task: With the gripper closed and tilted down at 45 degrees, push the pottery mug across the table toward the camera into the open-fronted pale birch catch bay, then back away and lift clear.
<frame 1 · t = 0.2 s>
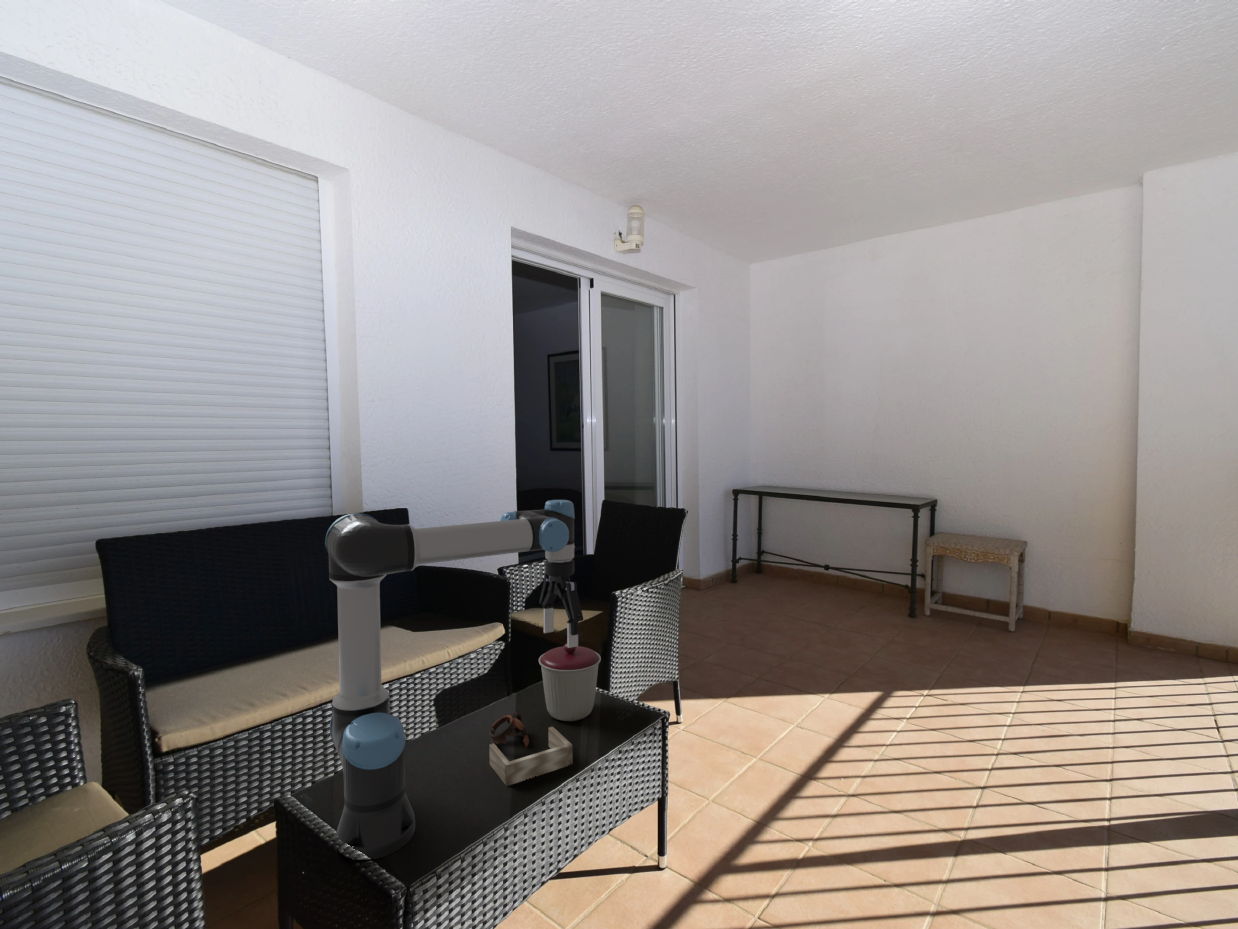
hand: (560, 639, 163), 28 cm above the table, tool pointing down, fingers open, 13 cm apart
canister: (570, 714, 181), on the table
catch bay: (529, 762, 155), on the table
pottery mug: (511, 743, 165), on the table
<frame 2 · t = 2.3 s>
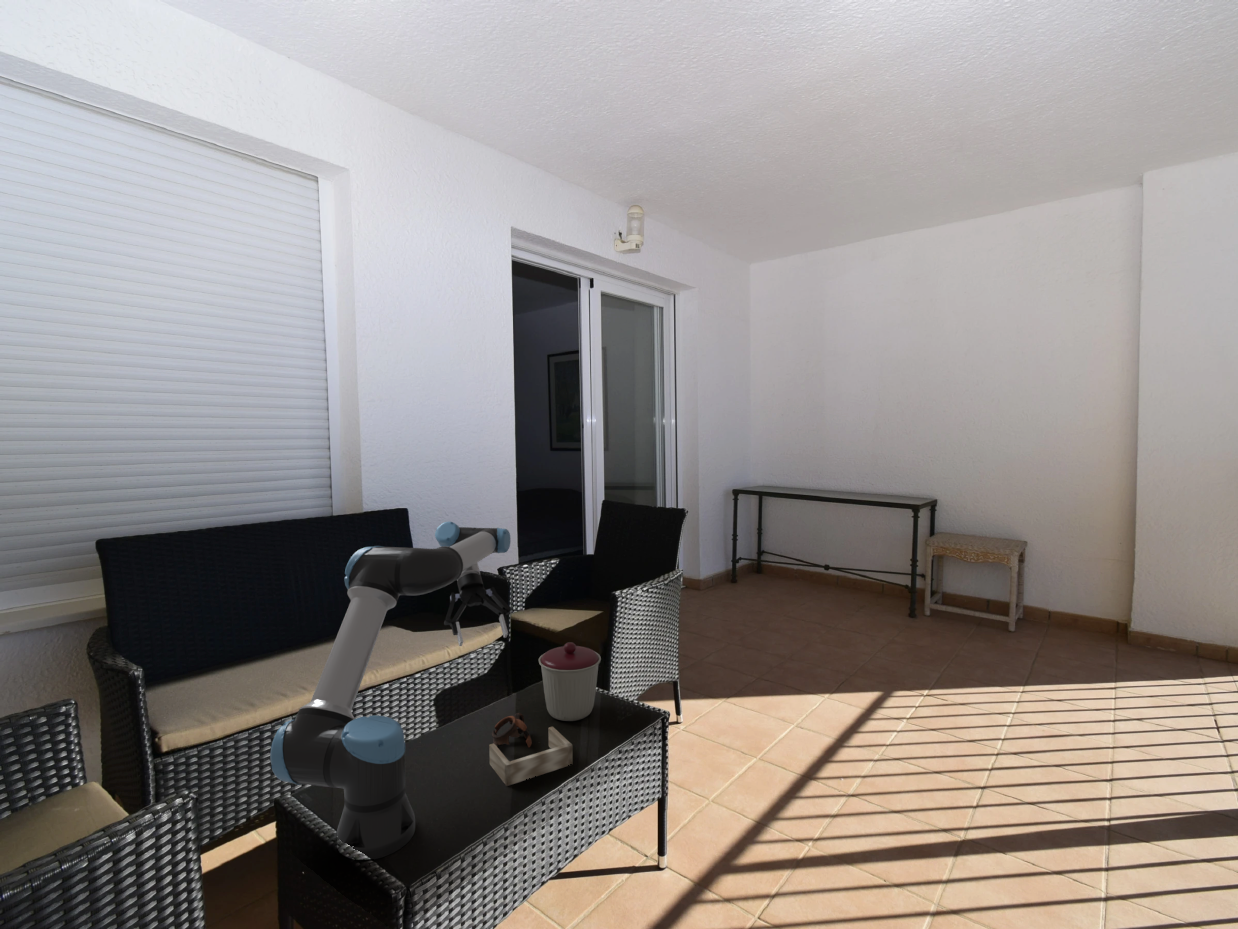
hand: (484, 640, 184), 21 cm above the table, tool tilted 45°, fingers open, 13 cm apart
nothing on the table moved.
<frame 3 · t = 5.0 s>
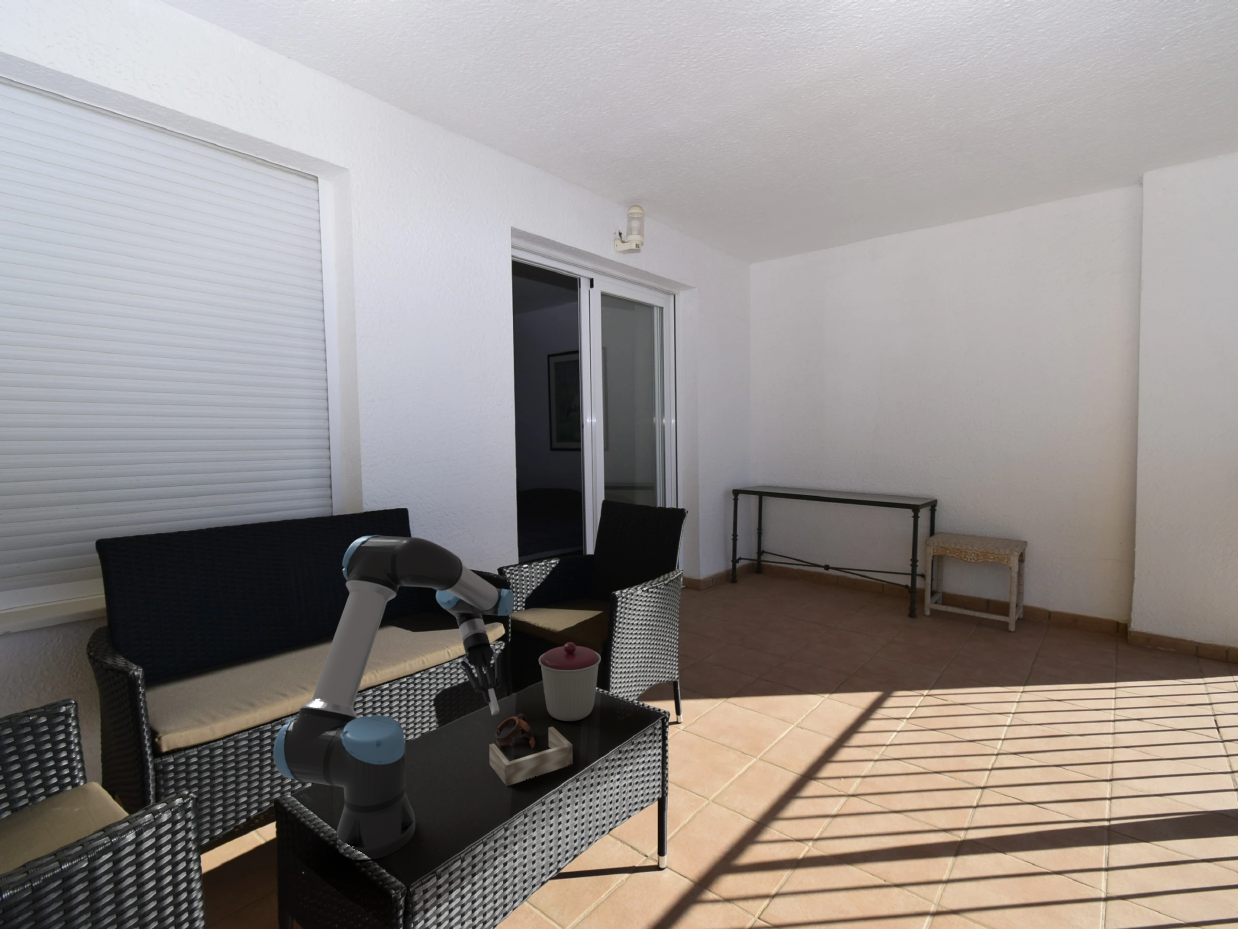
hand: (495, 712, 175), 3 cm above the table, tool tilted 45°, fingers closed
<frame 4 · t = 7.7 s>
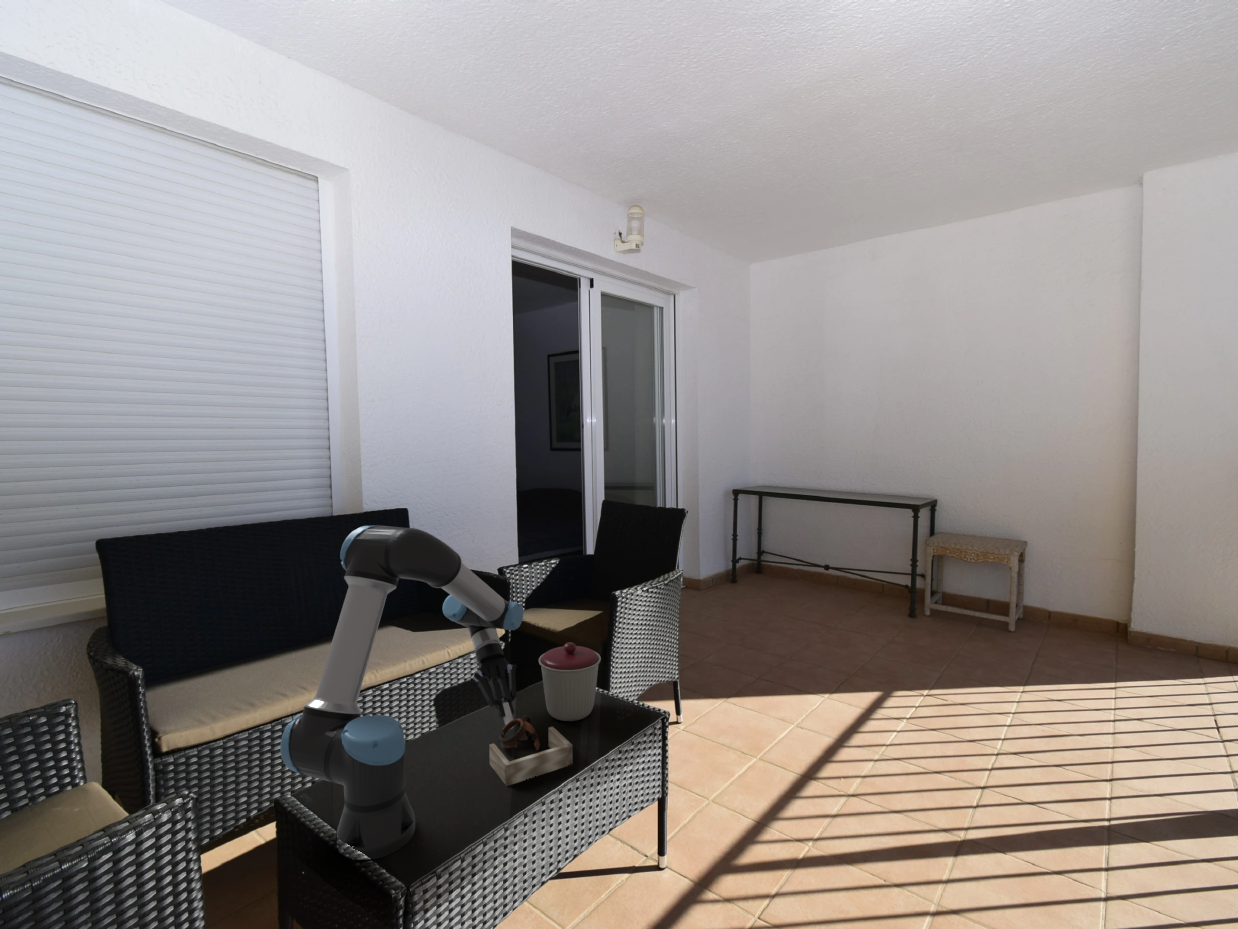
hand: (510, 727, 167), 3 cm above the table, tool tilted 45°, fingers closed
pottery mug: (521, 746, 163), on the table, touching gripper
everything else where it was.
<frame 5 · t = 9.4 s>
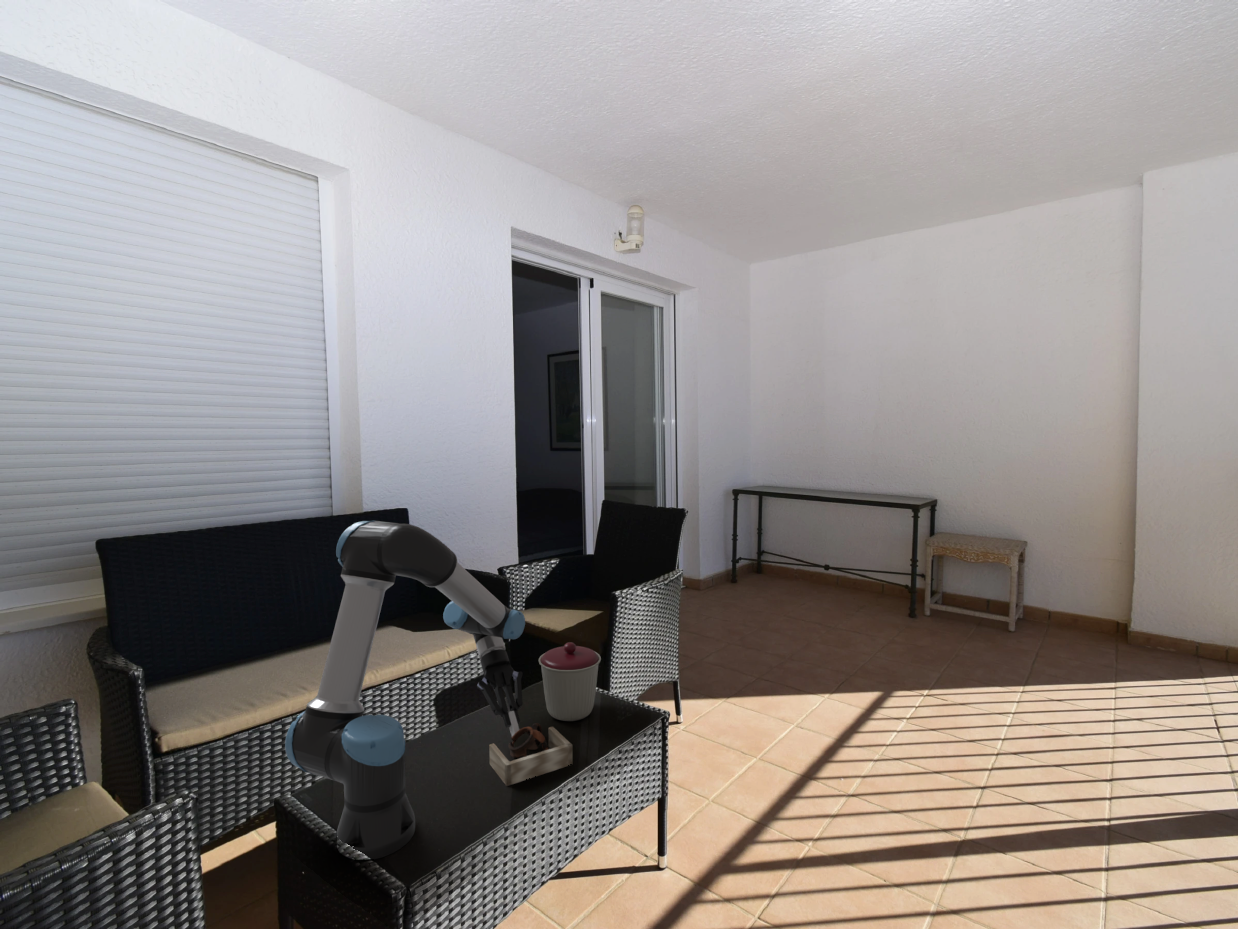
hand: (516, 737, 161), 3 cm above the table, tool tilted 45°, fingers closed
pottery mug: (531, 755, 159), on the table, touching gripper
everything else where it was.
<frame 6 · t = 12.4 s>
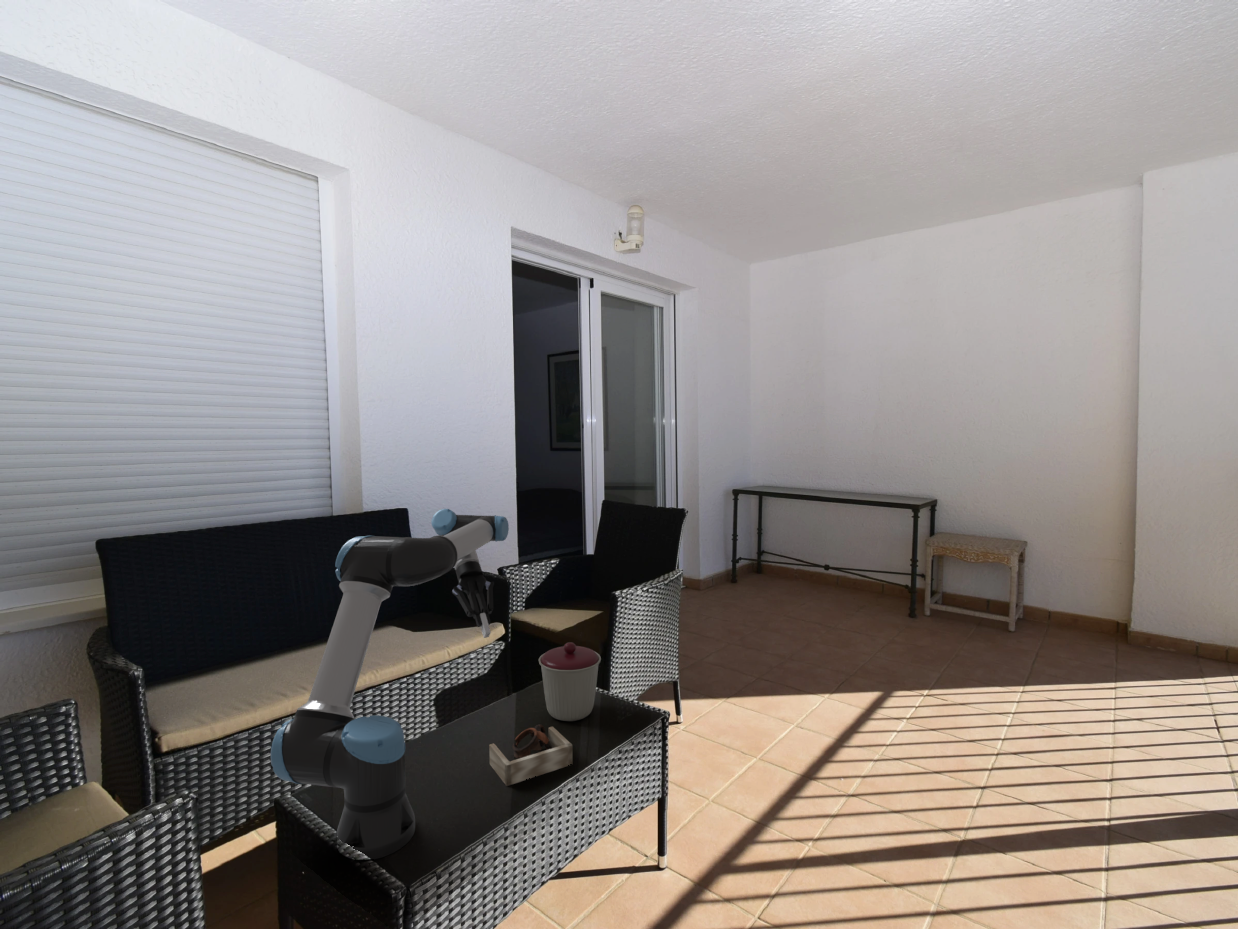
hand: (487, 635, 178), 24 cm above the table, tool tilted 45°, fingers closed
pottery mug: (535, 756, 158), on the table
everything else where it was.
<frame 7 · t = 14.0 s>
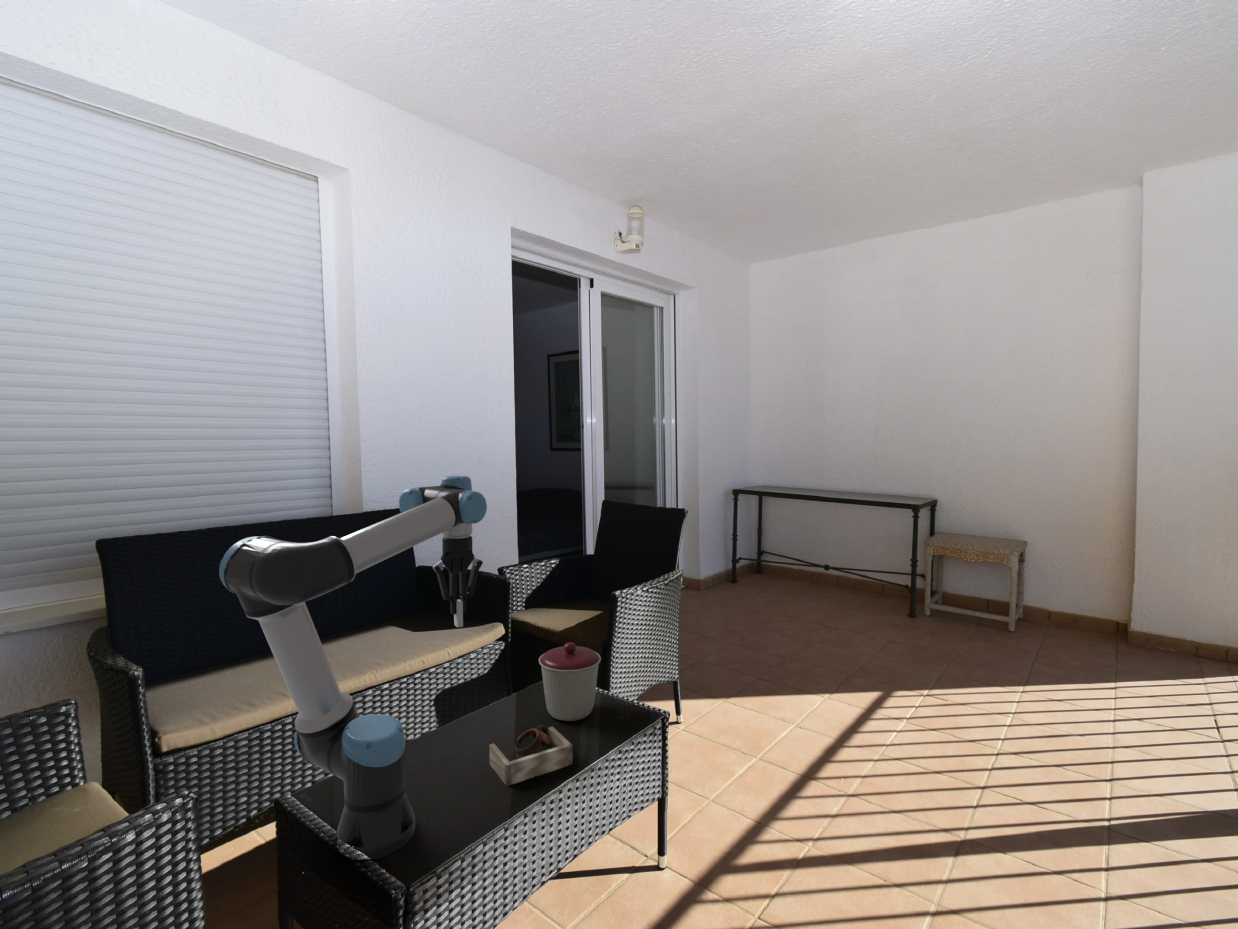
hand: (458, 625, 161), 32 cm above the table, tool pointing down, fingers closed
nothing on the table moved.
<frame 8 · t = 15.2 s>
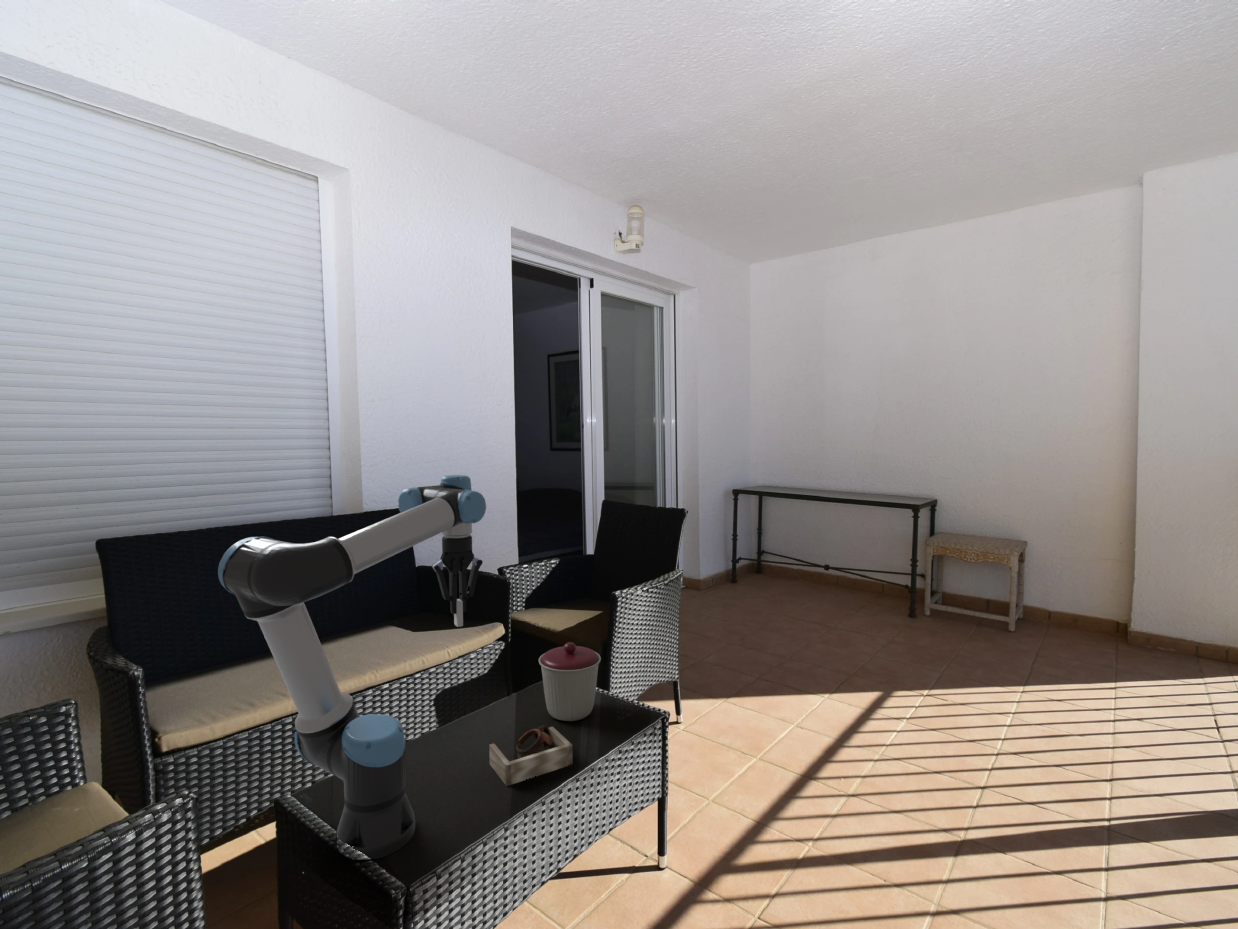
hand: (458, 625, 161), 32 cm above the table, tool pointing down, fingers closed
at the end: pottery mug inside the target area on the catch bay (3.7 cm from its centre), point 0.0 cm above the catch bay's base; pottery mug tilted 1° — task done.
